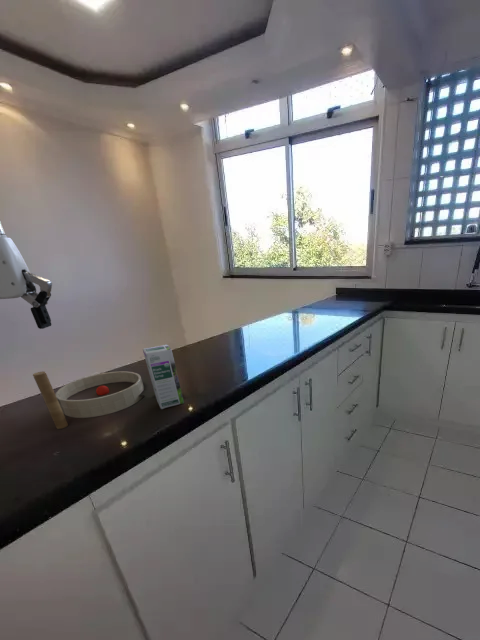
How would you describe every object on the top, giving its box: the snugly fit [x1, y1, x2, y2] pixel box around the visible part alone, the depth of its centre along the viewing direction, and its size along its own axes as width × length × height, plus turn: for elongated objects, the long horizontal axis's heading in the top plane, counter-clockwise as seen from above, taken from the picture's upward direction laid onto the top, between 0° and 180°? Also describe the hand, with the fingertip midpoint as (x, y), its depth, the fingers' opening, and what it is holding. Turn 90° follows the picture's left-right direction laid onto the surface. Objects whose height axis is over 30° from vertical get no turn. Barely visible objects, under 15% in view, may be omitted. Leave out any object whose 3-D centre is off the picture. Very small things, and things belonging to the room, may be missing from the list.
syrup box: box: [142, 344, 185, 410], centre depth 76 cm, size 6×6×14 cm
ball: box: [95, 385, 110, 396], centre depth 83 cm, size 3×3×3 cm
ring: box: [55, 370, 145, 419], centre depth 81 cm, size 19×19×4 cm
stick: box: [32, 370, 69, 430], centre depth 67 cm, size 2×2×13 cm
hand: (19, 328), depth 61 cm, fingers open, 9 cm apart
